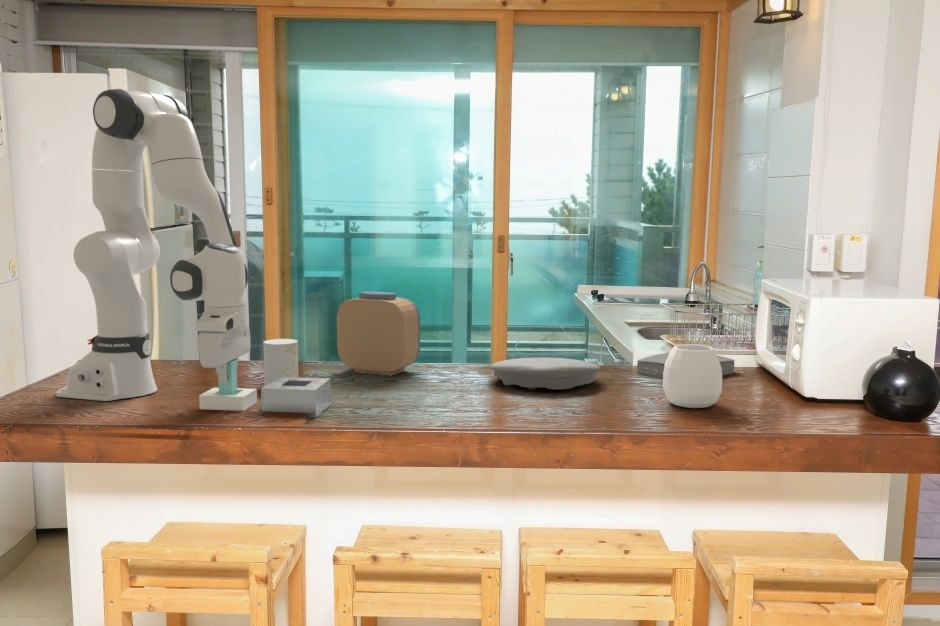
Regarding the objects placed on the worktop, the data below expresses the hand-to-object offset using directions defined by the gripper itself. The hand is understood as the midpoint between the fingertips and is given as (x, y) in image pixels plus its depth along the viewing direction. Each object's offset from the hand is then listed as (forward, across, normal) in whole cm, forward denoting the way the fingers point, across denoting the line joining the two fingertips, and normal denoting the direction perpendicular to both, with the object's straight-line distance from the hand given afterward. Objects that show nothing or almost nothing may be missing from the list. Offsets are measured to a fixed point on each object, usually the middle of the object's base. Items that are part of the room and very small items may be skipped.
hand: (227, 380), depth 190 cm
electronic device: (+7, -56, +106) cm, 120 cm away
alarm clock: (+7, -46, +24) cm, 52 cm away
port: (+7, -2, +15) cm, 17 cm away
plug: (+6, 0, 0) cm, 6 cm away
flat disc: (+7, -38, +69) cm, 79 cm away
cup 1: (+7, -21, +5) cm, 23 cm away
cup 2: (+7, -18, +103) cm, 105 cm away
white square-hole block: (+7, 0, 0) cm, 7 cm away
